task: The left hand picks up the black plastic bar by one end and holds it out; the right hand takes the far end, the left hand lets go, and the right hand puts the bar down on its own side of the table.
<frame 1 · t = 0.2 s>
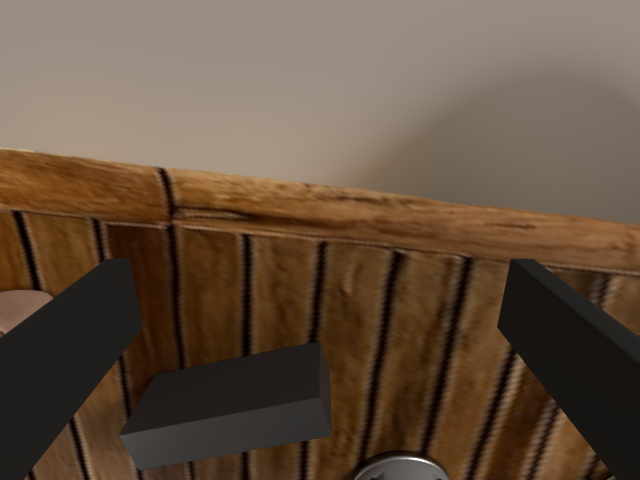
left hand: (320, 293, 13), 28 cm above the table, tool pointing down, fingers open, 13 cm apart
anatomical model: (26, 330, 46), on the table
bar: (242, 374, 48), on the table
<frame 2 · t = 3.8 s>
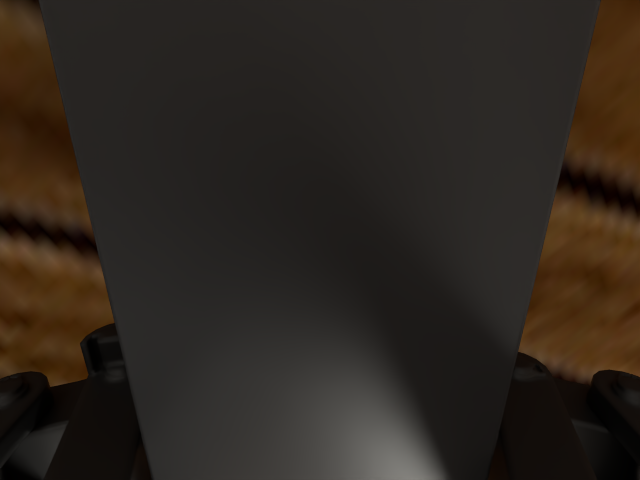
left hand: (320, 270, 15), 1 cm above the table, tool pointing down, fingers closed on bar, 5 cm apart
bar: (319, 74, 12), on the table, touching left hand
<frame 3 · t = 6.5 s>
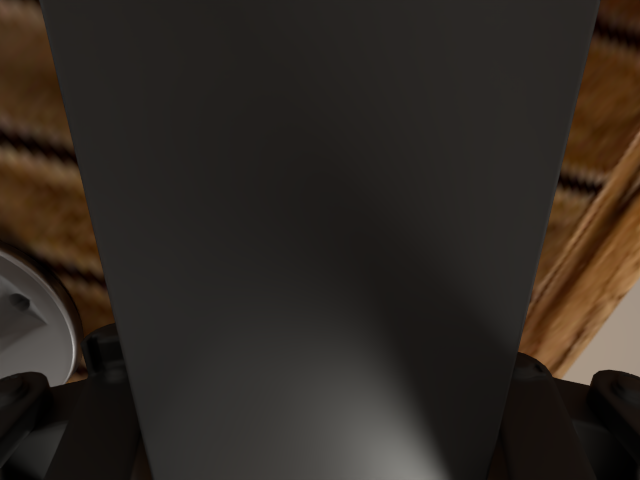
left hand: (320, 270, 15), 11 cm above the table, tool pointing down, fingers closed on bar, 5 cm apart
bar: (319, 74, 12), point 10 cm above the table, touching left hand
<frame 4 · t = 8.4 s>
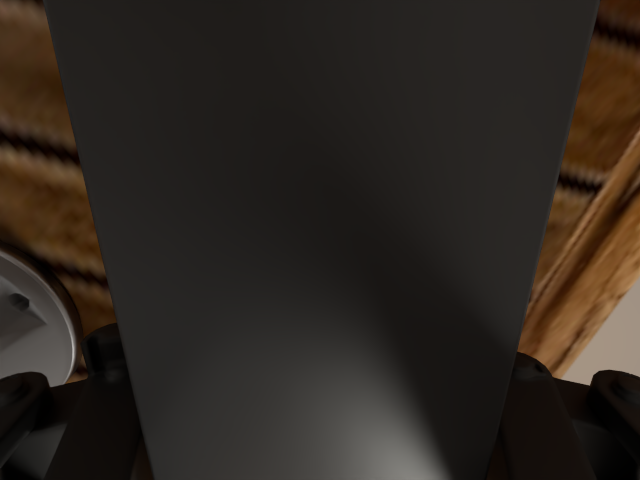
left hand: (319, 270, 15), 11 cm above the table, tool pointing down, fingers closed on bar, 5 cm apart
bar: (320, 74, 12), point 10 cm above the table, touching left hand, right hand
when the left hand's fingers open (11 cm above the table, at t = 9.2 s): bar stays where it is, held by the right hand.
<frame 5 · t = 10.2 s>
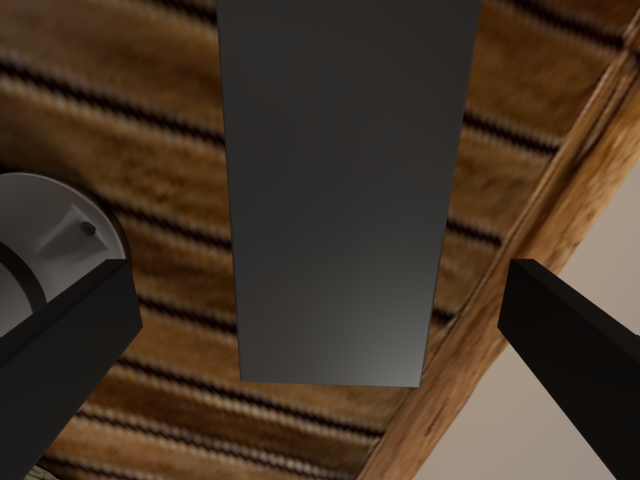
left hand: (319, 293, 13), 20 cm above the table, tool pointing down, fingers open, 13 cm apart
bar: (337, 23, 16), point 13 cm above the table, touching right hand
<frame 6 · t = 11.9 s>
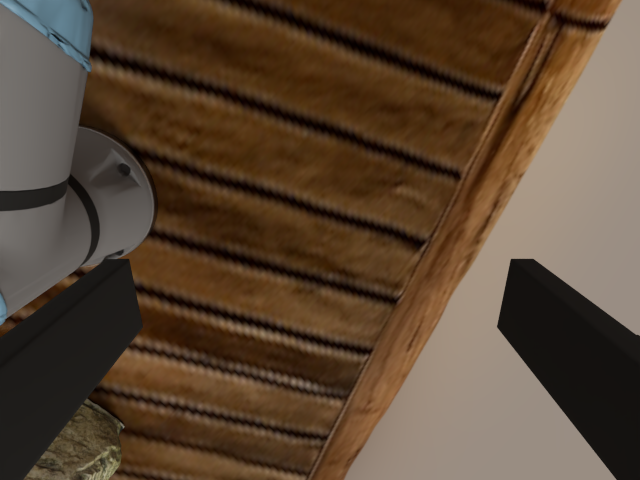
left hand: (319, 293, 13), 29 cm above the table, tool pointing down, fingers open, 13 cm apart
fossil: (75, 409, 53), on the table
when the right hand's fingers open (5 cm above the table, at t = 15.7 s): bar stays where it is, resting on anatomical model.
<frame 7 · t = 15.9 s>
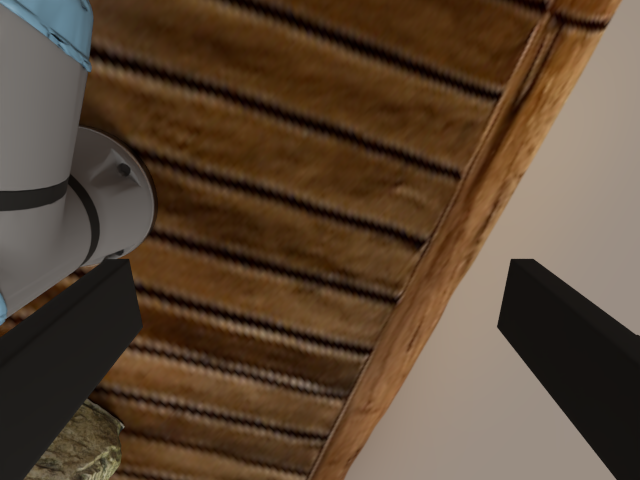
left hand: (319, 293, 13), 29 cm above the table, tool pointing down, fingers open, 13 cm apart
fossil: (75, 409, 53), on the table
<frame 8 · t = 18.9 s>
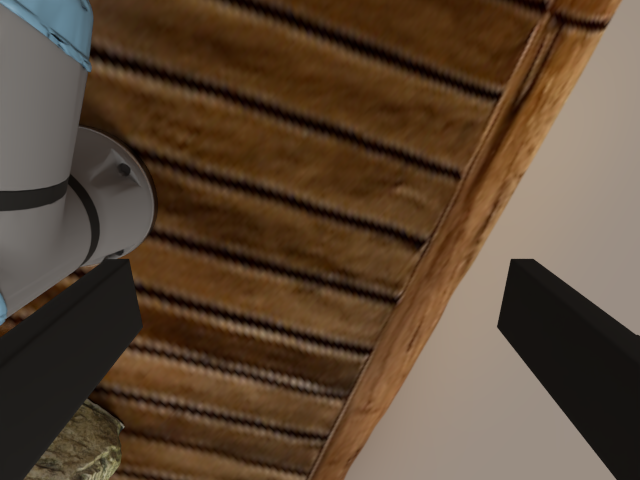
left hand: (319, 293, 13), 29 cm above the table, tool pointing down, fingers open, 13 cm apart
fossil: (75, 409, 53), on the table
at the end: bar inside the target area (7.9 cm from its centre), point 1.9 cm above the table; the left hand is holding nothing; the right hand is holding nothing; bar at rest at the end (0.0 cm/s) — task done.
